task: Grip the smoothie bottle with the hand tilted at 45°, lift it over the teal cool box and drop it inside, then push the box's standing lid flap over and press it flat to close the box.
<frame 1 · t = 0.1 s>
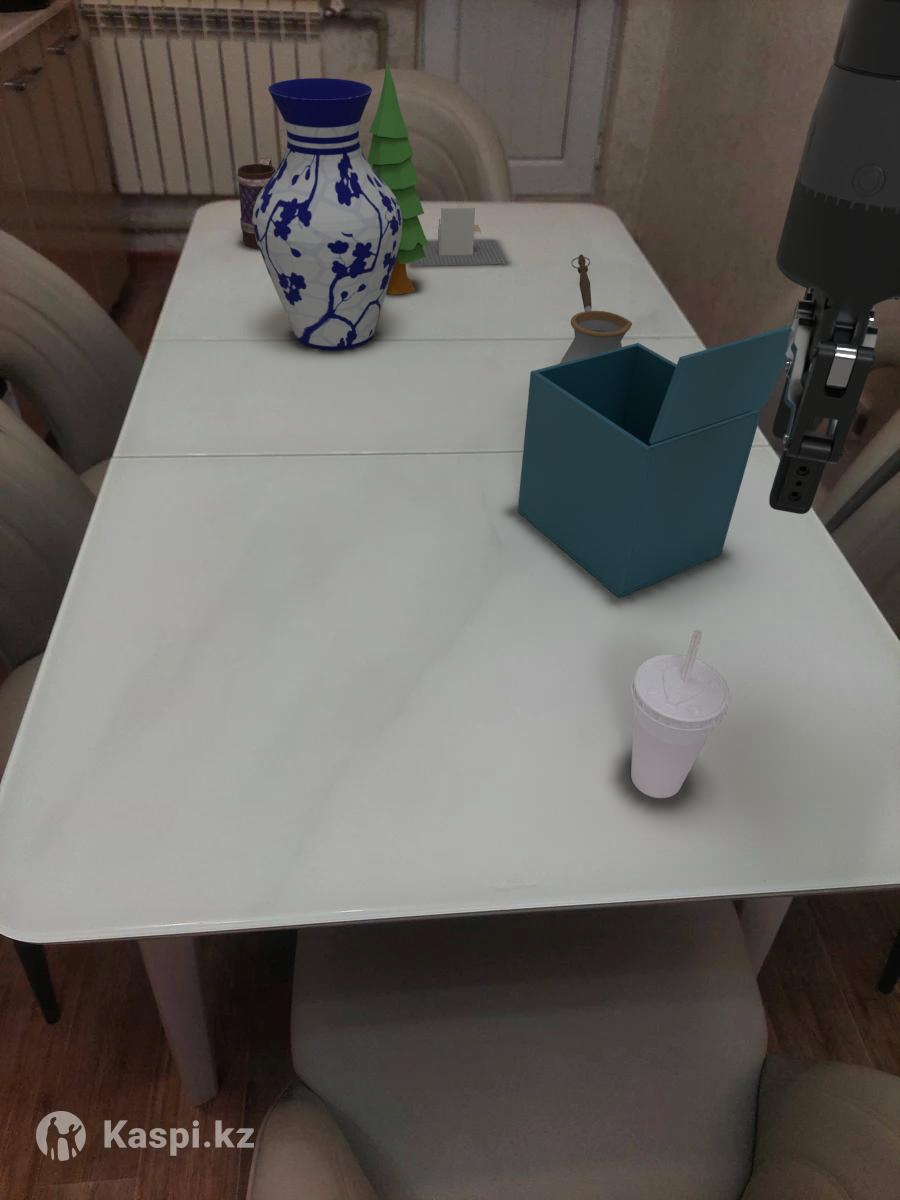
hand: (788, 470, 53), 24 cm above the table, tool pointing down, fingers open, 8 cm apart
decorative tree: (398, 289, 137), on the table
flap: (725, 383, 70), point 20 cm above the table, hinge at 100.0°
coffee pot: (579, 408, 109), on the table
vase: (334, 335, 123), on the table
mug: (267, 240, 152), on the table
napkin holder: (455, 254, 149), on the table
smoothie: (655, 779, 65), on the table
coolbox: (616, 532, 89), on the table
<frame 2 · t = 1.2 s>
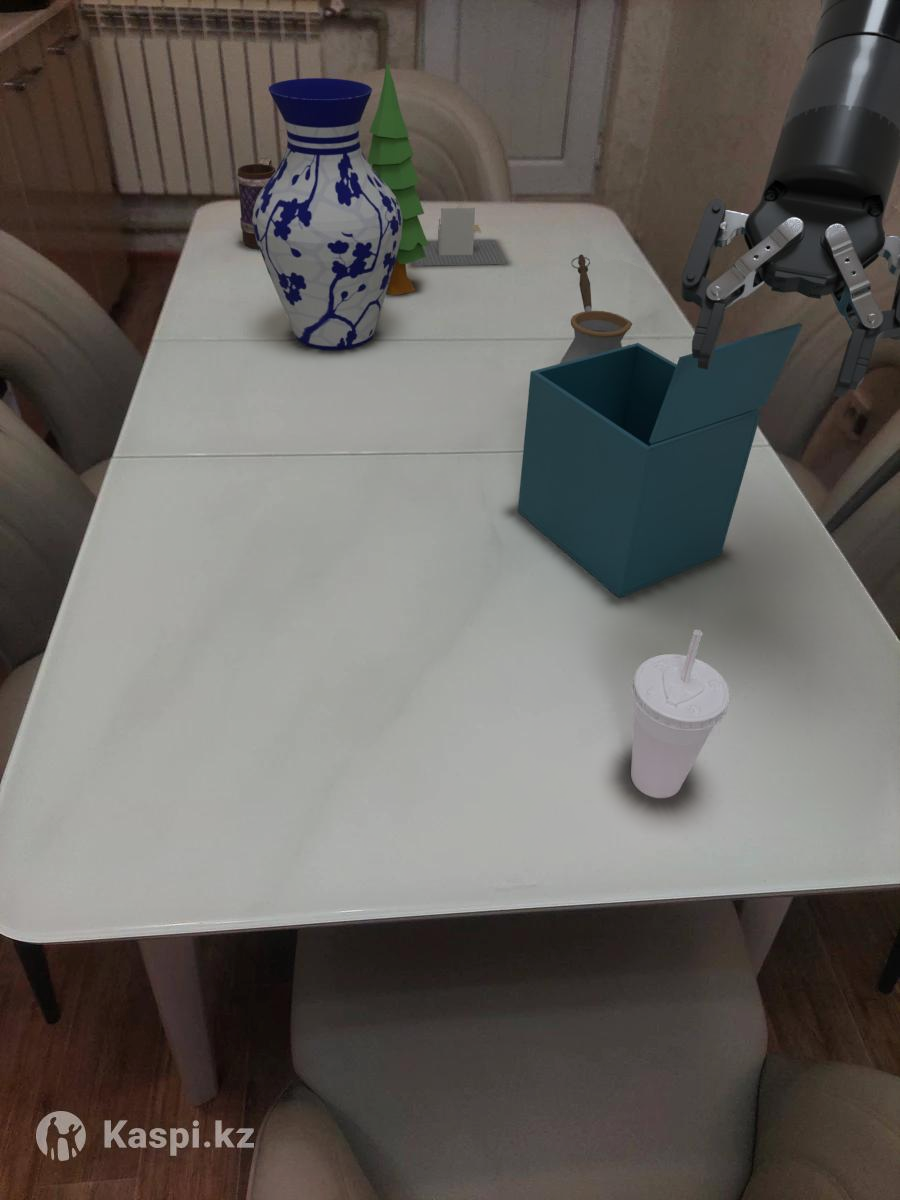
hand: (770, 378, 56), 27 cm above the table, tool tilted 45°, fingers open, 8 cm apart
nothing on the table moved.
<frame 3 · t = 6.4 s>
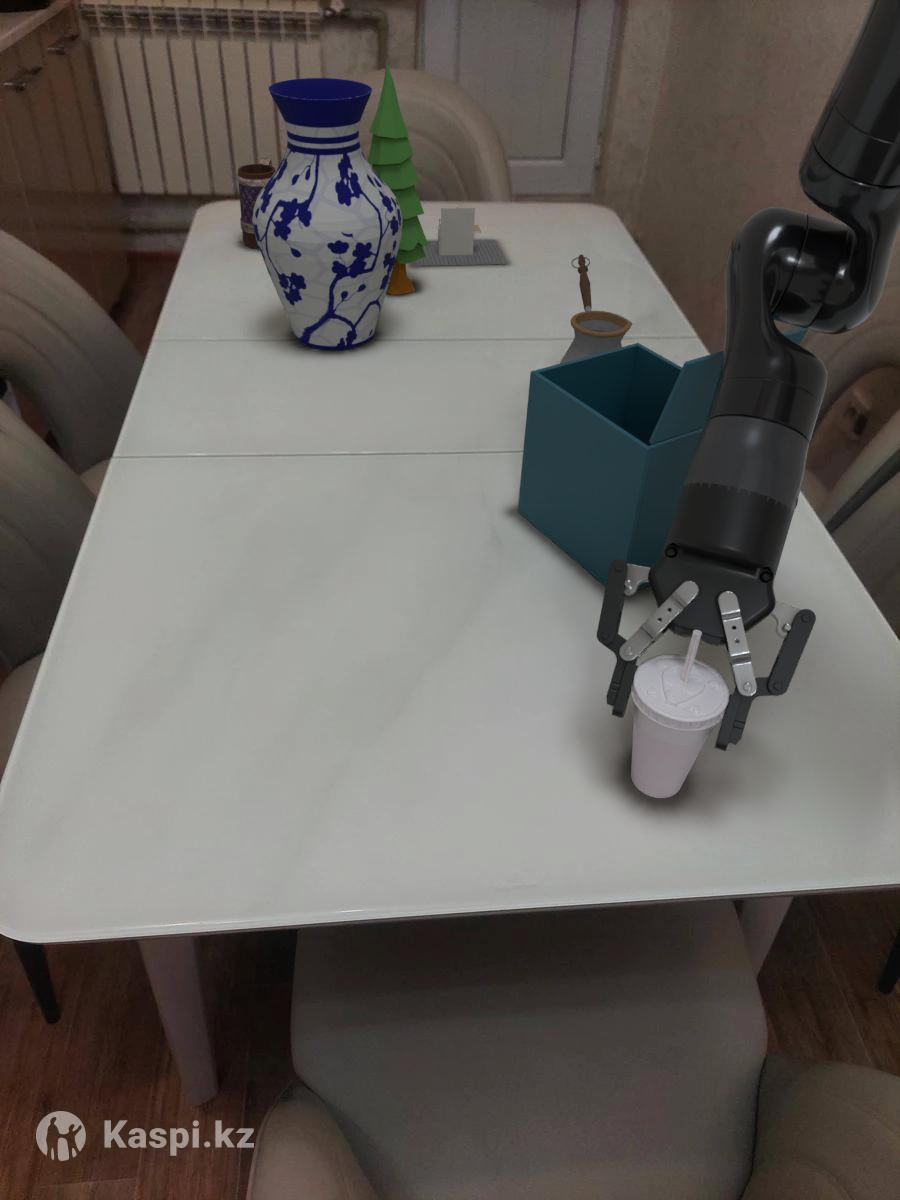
hand: (668, 732, 60), 7 cm above the table, tool tilted 45°, fingers closed on smoothie, 6 cm apart
flap: (728, 385, 70), point 20 cm above the table, hinge at 104.4°
smoothie: (655, 779, 65), on the table, touching gripper
everything else where it was.
when the fingers open (24 cm above the table, at t = 18.3 s): smoothie drops 16 cm, resting on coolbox.
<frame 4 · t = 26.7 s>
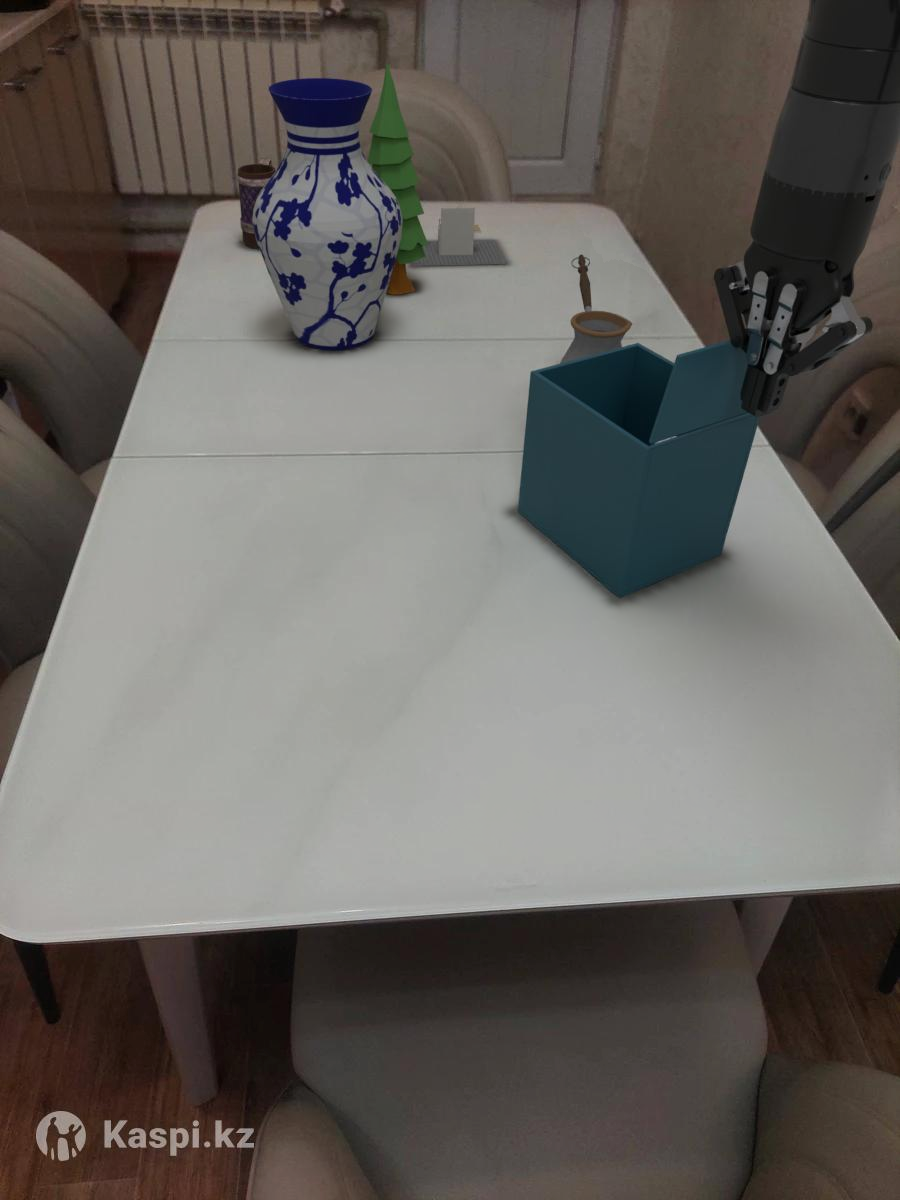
hand: (757, 411, 69), 19 cm above the table, tool pointing down, fingers closed
flap: (724, 382, 70), point 20 cm above the table, hinge at 97.8°, touching gripper
smoothie: (624, 527, 88), point 1 cm above the table, touching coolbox
everything else where it was.
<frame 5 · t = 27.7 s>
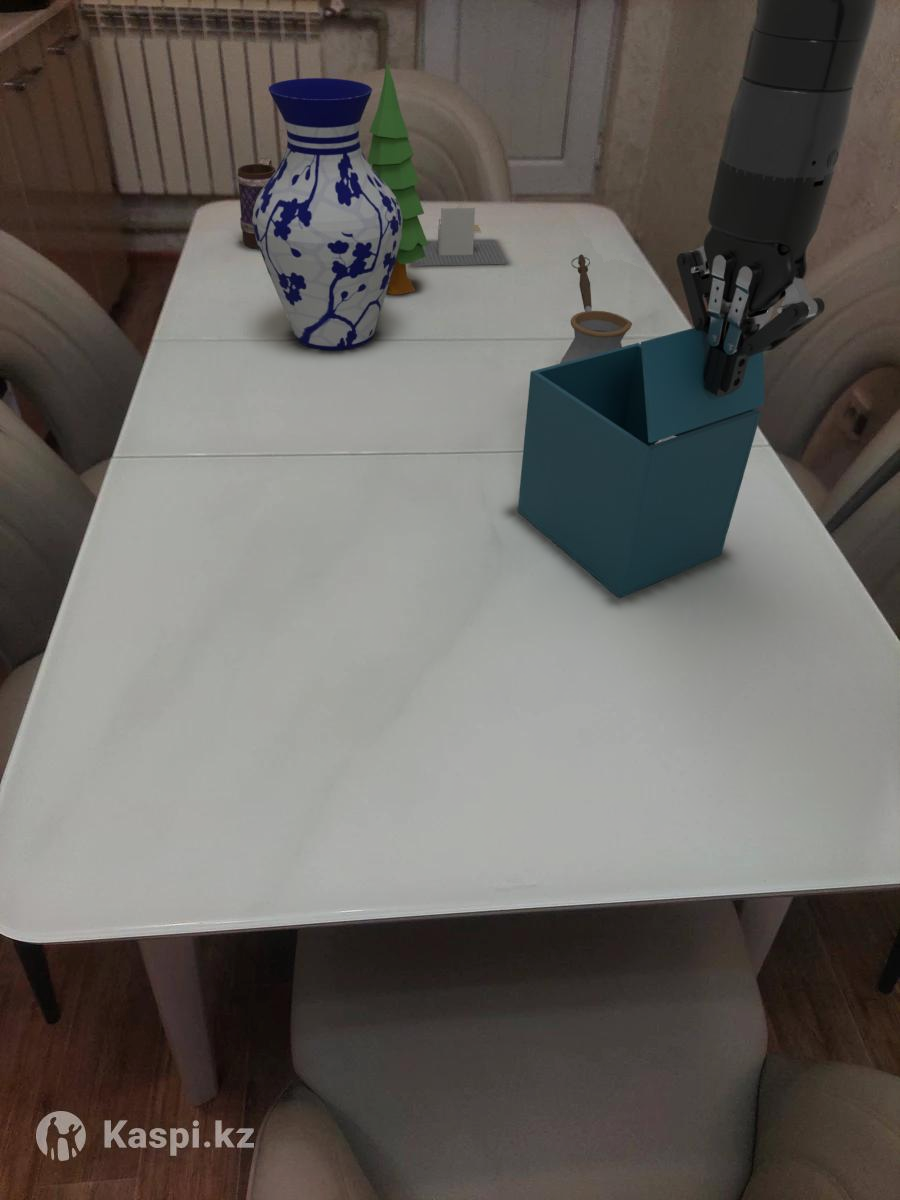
hand: (719, 391, 71), 19 cm above the table, tool pointing down, fingers closed
flap: (706, 375, 72), point 20 cm above the table, hinge at 69.6°, touching gripper
everything else where it was.
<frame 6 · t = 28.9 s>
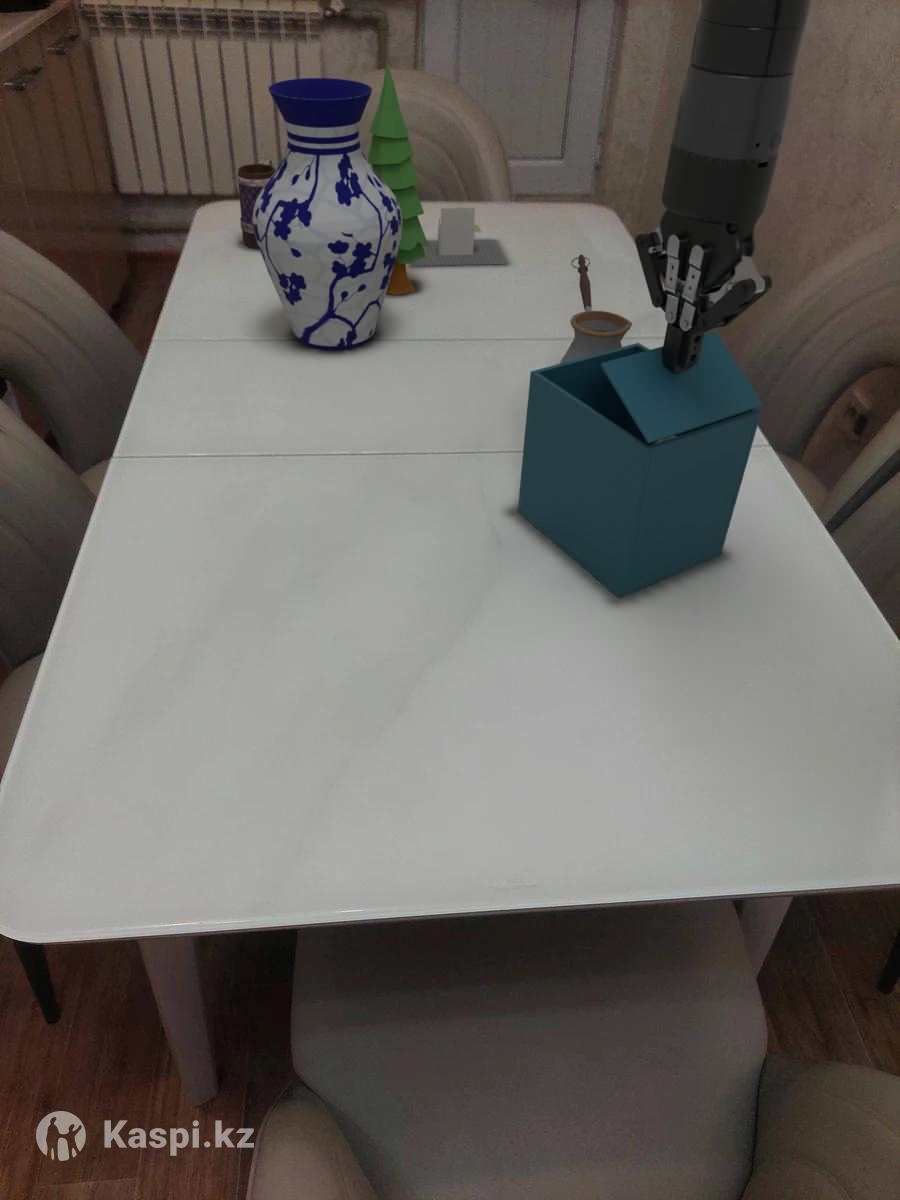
hand: (677, 367, 74), 19 cm above the table, tool pointing down, fingers closed
flap: (683, 385, 74), point 18 cm above the table, hinge at 29.5°, touching gripper
everything else where it was.
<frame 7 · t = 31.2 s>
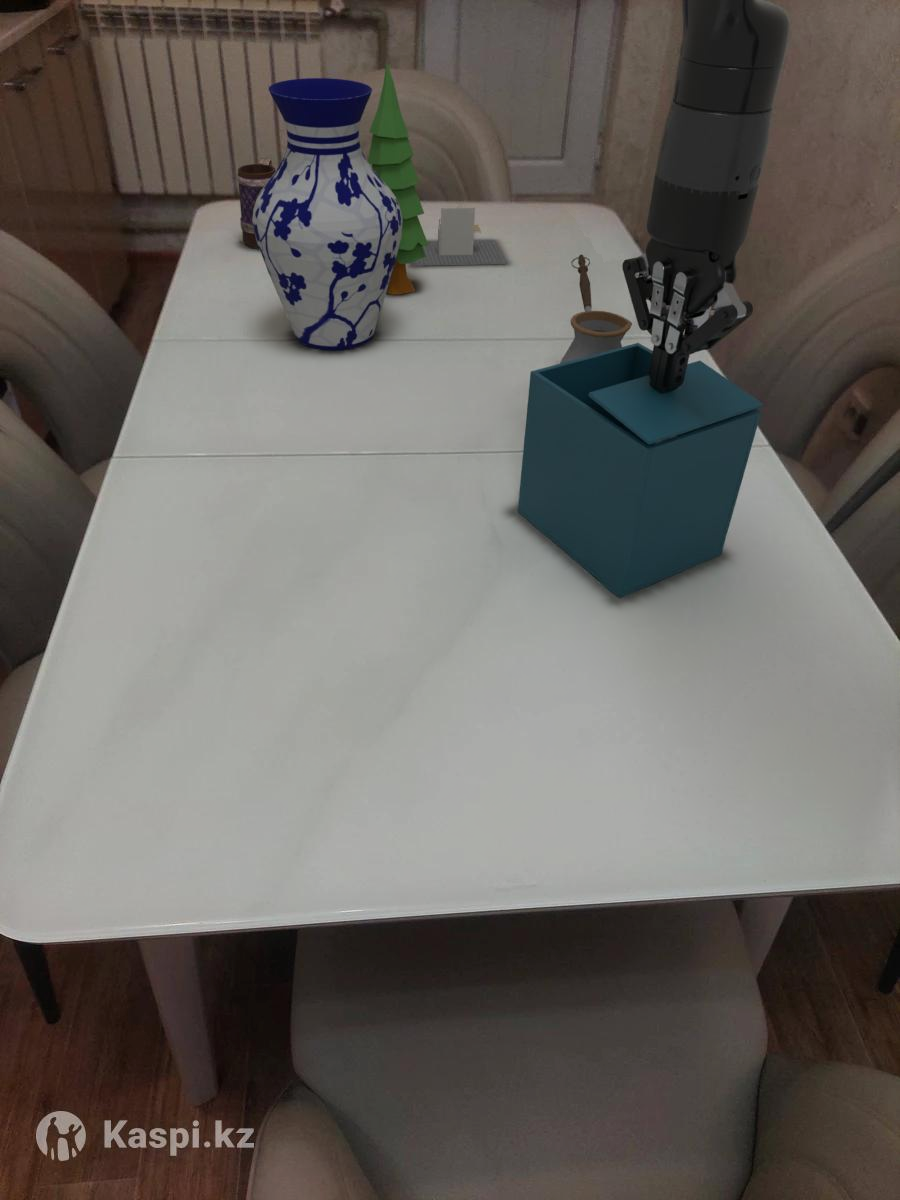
hand: (664, 387, 76), 17 cm above the table, tool pointing down, fingers closed
flap: (676, 399, 76), point 16 cm above the table, hinge at 5.5°, touching gripper
everything else where it was.
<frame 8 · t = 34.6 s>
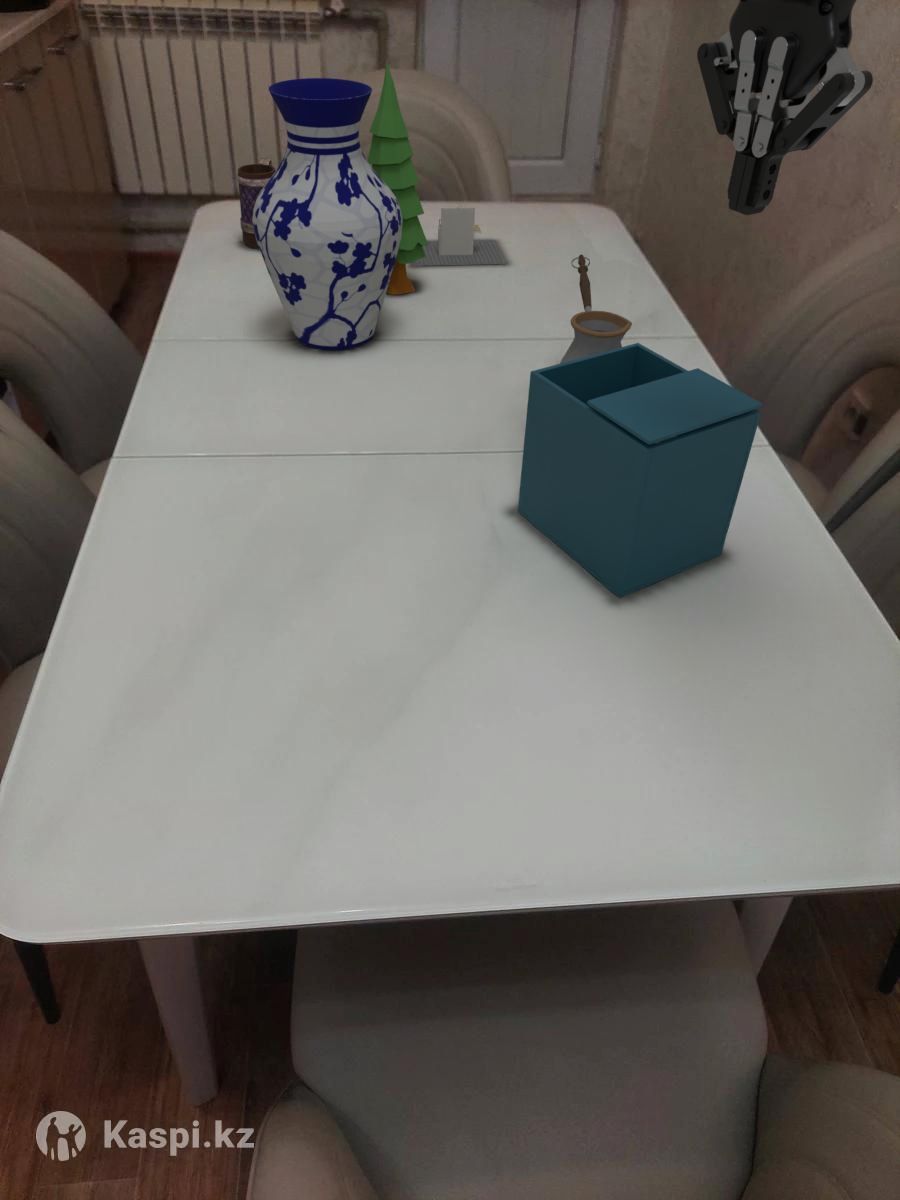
hand: (746, 210, 62), 33 cm above the table, tool pointing down, fingers closed
flap: (675, 403, 76), point 16 cm above the table, hinge at -0.1°
everything else where it was.
at the end: smoothie inside the target area in the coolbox (0.8 cm from its centre), point 1.2 cm above the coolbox's base; flap at +0° (first picture: +100°) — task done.
